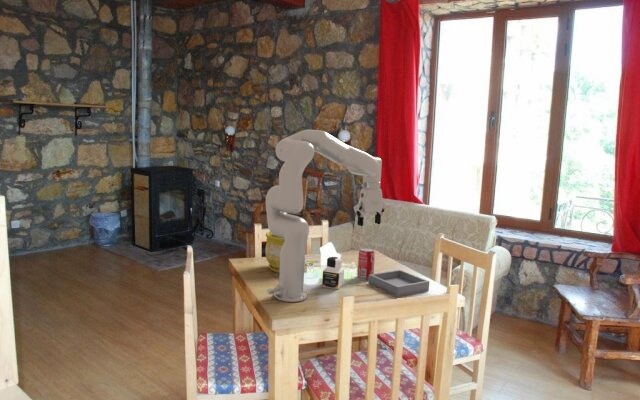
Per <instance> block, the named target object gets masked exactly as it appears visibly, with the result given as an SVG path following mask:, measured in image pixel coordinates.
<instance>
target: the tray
mask: <svg viewBox="0 0 640 400" xmlns="http://www.w3.org/2000/svg"><path fill="white" fill-rule="evenodd" d="M367 281H368V283H367V284H368V285H371V286H373V287H375V288H377V289H379V290H381V291H384V292H386V293H387V294H390V295H393V296H395V297H396V298H397V297H402V296H407V295H412V294H417V293H422V292H423V293H424V292H428V291H429V289H430V281H429V280H427V279H425V278H422V277H420V276H417V275H415V274H412V273H409V272H407V271H404V270H402V269H396V270H395V269H394V270H389V271H383V272H376V273H374V274H369V280H367ZM427 290H428V291H427Z"/></svg>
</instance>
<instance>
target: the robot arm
mask: <svg viewBox="0 0 640 400" xmlns="http://www.w3.org/2000/svg"><path fill="white" fill-rule="evenodd" d="M315 153H318V154H319V155H321V156H323V157H324V158H326V159H328V160H329V161H331V162H333V163H335V164H337V165H341V166H344V167H346V168H347V171H348V172H349V173H350V174H353V175H357V176H362V177H363V178H362V183H361V185H360V186H361V187H362V188H361V189H360V194H359V201H358V203H357V204H356V205H354V206H353V211H354V213H355V214H356V216H357V226H360V227H363V226H364V221H365V220H364V218H365V217H364V215H365V213H367V214H369V213H375V214H374V223H375V224H377V225H381V222H382V221H381V219H382V216H383V213H384V212H385V209H386V207H387V204H385V203H384V202H383V191H382V189H381V182H382V181H381V179H382V163H383V162H382V161H383V160H382V159H381V158H380V157H377V156H372V155H370V154H369V153H367V152H365V151H363V150H360V149H358V148H355V147H353V146H351V145H348V144H346V143H344V141H341V140H340V139H338V138H337V137H335V136H333V135H331V134H330V133H328V132H327V131H324V130H320V129H319V130H318V129H304V130H301V131H298V132H295V133H294V134H292V135H289V136H287V137H285V138H282V139H281V140H279V141H278V143H277V144H276V146H275V154H276V157H277V158H278V159H279V160H280V161H282V162H284V163H283V165H282V166H281V167H280V170H279V173H278V174H279V175H278V185H273V186H272V187H270V188H269V189H268V190H267V193H266V196H265V211H266V219H267V227H268V231H270V232H271V233H272V234H273V235H275V236H277V237H280V238H283V239H285V242H284V244H283V246H282V248H281V251H280V270H279V273H278V274H279V277H278V284H276V285H275V287H273V288H269V289H266V294H267V295H272V294H273V297H274V298H275V299H276V300H279V301H281V302H288V303H294V302H295V303H296V302H302V301H305V300H306V299H307V297H308V294H307V293H306V292H305V291H304V284H305V283H304V281H305V264H306V263H305V261H306V248H307V243H308V239H309V234H310V226H309V223H308V221H306V220H305V219H304V218H303V217H300V216H297V215H296V214H299V213H300V212H301V211H302V210H303V207H304V192H303V191H304V190H303V173H304V171H305V169H306V167H307V166H308V165H309V164H310V163H311V161H312V160H313V158H314V156H315Z"/></svg>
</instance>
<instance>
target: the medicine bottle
mask: <svg viewBox="0 0 640 400" xmlns="http://www.w3.org/2000/svg"><path fill="white" fill-rule="evenodd" d="M342 261H343V260H342V258H340V257H337V256H330V257H327V259H326V268H325V269H323V270H322V280H321V284H322V285H321V287H322V288H328V289H333V290H339V289H340V288H341V287H343V285H344V277H345V268H342Z"/></svg>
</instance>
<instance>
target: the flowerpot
mask: <svg viewBox="0 0 640 400" xmlns="http://www.w3.org/2000/svg"><path fill="white" fill-rule="evenodd" d="M265 237H266V244H265V248H264V249H265V253H264V254H265V258H266V261H267V262H268V268H270V270H271V271H272V272H275V273H278V274H279V270H280V251H281V248H282V246H283V244H284V242H285V239H283V238H280V237H277V236H275V235H273V234H272V233H271V232H270V230H268V232H266V234H265Z"/></svg>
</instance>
